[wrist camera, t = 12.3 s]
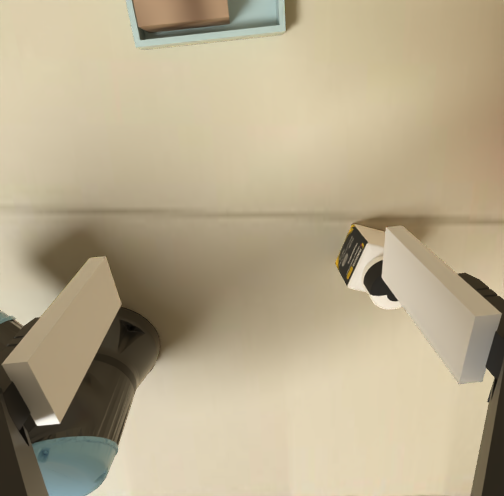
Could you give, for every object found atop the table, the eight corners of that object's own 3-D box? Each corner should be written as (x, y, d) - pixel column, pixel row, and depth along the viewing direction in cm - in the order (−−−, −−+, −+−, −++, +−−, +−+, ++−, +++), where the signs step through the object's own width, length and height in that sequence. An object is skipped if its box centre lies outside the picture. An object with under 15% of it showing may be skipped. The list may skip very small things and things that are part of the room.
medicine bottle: (351, 222, 50) (382, 261, 39) (395, 233, 51) (437, 274, 40) (333, 263, 53) (358, 310, 42) (375, 273, 54) (409, 321, 43)
